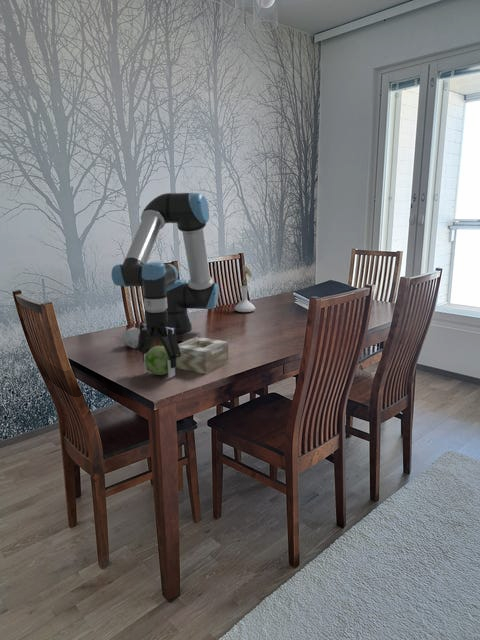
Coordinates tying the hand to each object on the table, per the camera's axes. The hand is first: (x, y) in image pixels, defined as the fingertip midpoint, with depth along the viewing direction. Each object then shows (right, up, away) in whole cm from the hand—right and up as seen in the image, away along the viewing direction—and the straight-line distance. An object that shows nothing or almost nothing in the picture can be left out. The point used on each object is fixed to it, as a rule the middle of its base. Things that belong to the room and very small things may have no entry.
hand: (159, 373), depth 158 cm
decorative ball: (0, 0, 0) cm, 1 cm away
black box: (+3, +5, +26) cm, 26 cm away
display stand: (+13, +2, +10) cm, 17 cm away
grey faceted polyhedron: (-16, +7, +34) cm, 38 cm away
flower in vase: (+30, +23, +96) cm, 103 cm away
